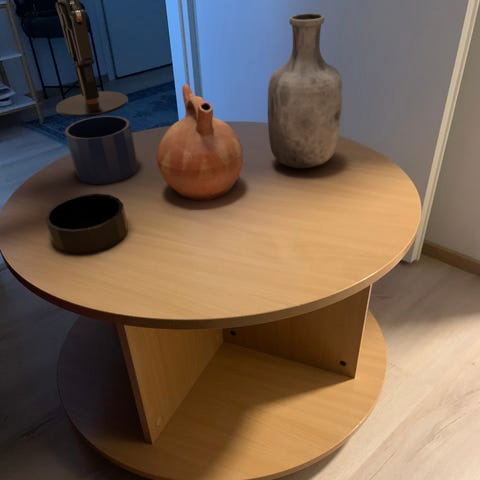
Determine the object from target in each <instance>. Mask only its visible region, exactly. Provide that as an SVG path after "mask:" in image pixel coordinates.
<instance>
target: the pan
mask: <svg viewBox="0 0 480 480" xmlns="http://www.w3.org/2000/svg"><path fill="white" fill-rule="evenodd" d="M44 221H45V223H46V224H45V225H46V227H47V229H48V233H49V235H50V238H51V241H52V243H53V245H54V248H56V249H57V250H59V251H60V252H62V253H65V254H68V255H69V254H70V255H89V254H96V253H99V252H103V251H106V250H108V249H110V248H113V247H114V246H116V245H117V244H120V242H121V241H123V240H124V239H125V237H126V236H127V234H128V231H129V227H128V225H129V224H128V220H127V215H126V211H125V207H124V203H123V202H122V201H121V200H120V198H118V197H116V196H113V195H111V194H105V193H89V194H81V195H77V196H73V197H70V198H67V199H64V200H62V201H60V202H58V203H56V204H55V205H53V206H52V207H51V208H50V209H49V210H48V211H47V212H46V215H45V217H44Z"/></svg>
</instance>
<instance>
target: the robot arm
mask: <svg viewBox="0 0 480 480" xmlns="http://www.w3.org/2000/svg"><path fill="white" fill-rule="evenodd" d="M55 9H56V12H57V14H58V17H59V21H60V25H61V28H62V32H63V35H64V39H65V43H66V48H67V51H68V55H69V57H70V58H71V60H72V62H73V65H74V69H75V74H76V78H77V81H78V85H79V89H80V94H82V96H84V94H83V90H82V86H81V82H80V78H79V74H78V70H77V68H79V72H80V76H81V80H82V84H83V88H84V92H85V96H86V99H87V100H90V99H95V98H99V94H98V92H99V90H98V86H97V81H96V77H95V72H94V67H93V64H95V59H94V56H93V50H92V46H91V40H90V36H89V30H88V26H87V20H86V19H87V18H86V12H85V9H84V8H82V3H81V1H79V0H57V1H56V2H55ZM78 62H79V64H77V65H76V63H78Z"/></svg>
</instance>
